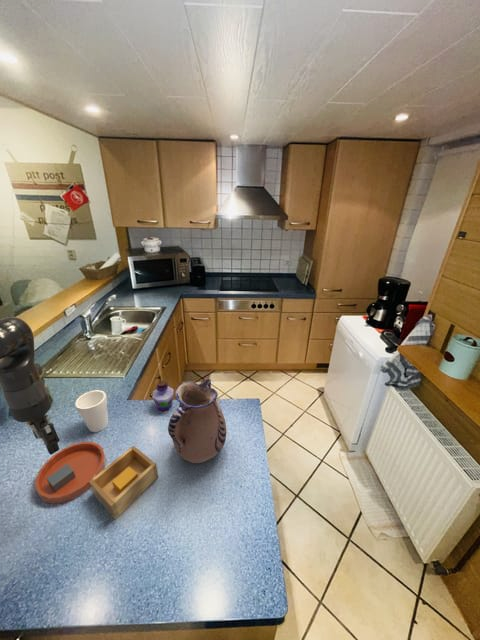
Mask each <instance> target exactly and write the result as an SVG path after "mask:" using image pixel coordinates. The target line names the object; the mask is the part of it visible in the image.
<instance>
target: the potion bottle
mask: <svg viewBox="0 0 480 640" xmlns="http://www.w3.org/2000/svg"><path fill="white" fill-rule="evenodd" d="M152 399H153V402H154V403H155V404H156V406H157V410H159V411H161V412H166V411H167V412H168V411H169V410H170V409H171V408H172V403H173V400H174V388H172V387H170V386H169V385H168V383H167V381H166V380H161V381H158V382H157V384H156V389H155V390H153V391H152Z"/></svg>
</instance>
